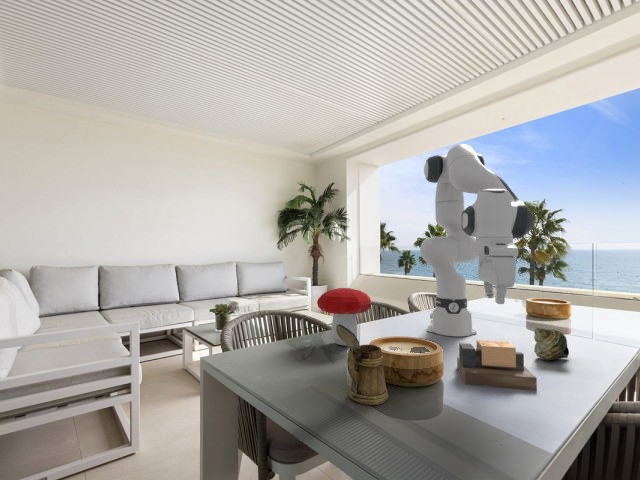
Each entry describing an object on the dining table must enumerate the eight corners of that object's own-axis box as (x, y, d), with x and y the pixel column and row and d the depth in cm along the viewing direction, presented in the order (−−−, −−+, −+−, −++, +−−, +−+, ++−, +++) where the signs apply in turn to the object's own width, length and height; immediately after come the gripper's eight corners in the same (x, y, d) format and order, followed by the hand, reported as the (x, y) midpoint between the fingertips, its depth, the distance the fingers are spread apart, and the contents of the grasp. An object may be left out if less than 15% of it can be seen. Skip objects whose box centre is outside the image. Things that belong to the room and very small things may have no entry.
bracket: (457, 367, 96) (456, 339, 96) (518, 372, 93) (518, 343, 93) (465, 384, 85) (465, 352, 85) (536, 390, 81) (536, 356, 81)
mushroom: (379, 341, 123) (379, 287, 124) (361, 356, 107) (361, 293, 107) (330, 335, 132) (330, 284, 133) (307, 347, 116) (307, 289, 116)
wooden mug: (325, 400, 76) (325, 320, 76) (368, 385, 84) (368, 313, 84) (352, 416, 69) (352, 327, 69) (396, 398, 77) (395, 319, 77)
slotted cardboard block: (476, 358, 92) (476, 340, 92) (509, 360, 91) (509, 341, 91) (481, 365, 87) (481, 345, 87) (517, 367, 85) (516, 347, 85)
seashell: (585, 368, 96) (584, 332, 96) (541, 365, 98) (540, 330, 99) (566, 356, 106) (565, 324, 107) (526, 353, 109) (526, 322, 109)
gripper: (472, 248, 100) (472, 294, 100) (491, 249, 80) (492, 306, 80) (495, 248, 99) (495, 295, 99) (520, 249, 79) (521, 308, 79)
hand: (494, 300), depth 89 cm, fingers open, 8 cm apart
